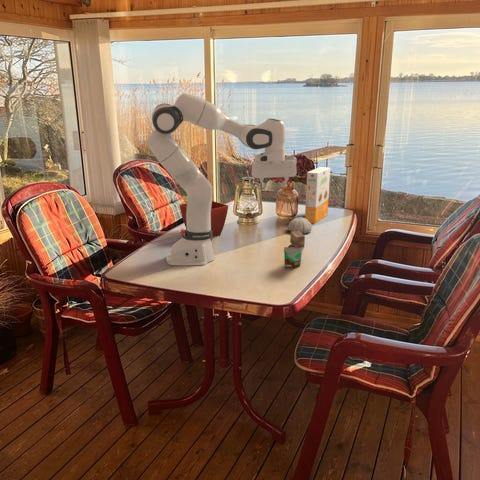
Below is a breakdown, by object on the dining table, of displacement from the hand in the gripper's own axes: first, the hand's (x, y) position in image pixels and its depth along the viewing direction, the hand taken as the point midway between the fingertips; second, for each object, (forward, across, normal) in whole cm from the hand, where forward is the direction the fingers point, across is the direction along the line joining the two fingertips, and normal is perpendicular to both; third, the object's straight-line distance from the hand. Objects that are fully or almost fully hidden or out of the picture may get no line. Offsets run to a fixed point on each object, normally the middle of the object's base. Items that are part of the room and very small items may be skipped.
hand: (273, 187), depth 215 cm
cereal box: (+33, -46, -59) cm, 82 cm away
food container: (+33, -6, +15) cm, 37 cm away
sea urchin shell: (+34, -27, -36) cm, 56 cm away
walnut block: (+23, -7, +15) cm, 28 cm away
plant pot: (+33, +26, -40) cm, 58 cm away
